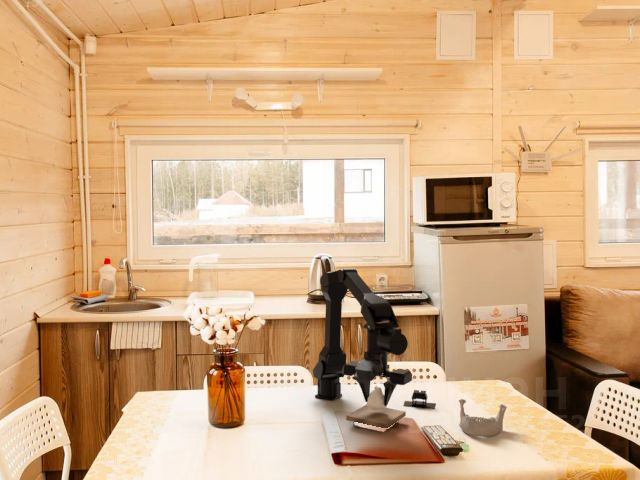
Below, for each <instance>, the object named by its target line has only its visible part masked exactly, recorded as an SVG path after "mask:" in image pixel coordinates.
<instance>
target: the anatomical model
mask: <svg viewBox="0 0 640 480" xmlns="http://www.w3.org/2000/svg"><path fill="white" fill-rule="evenodd" d="M458 402H459V405H460V411H459V417H460V418H459V419H460V420H459V425H458V426H459V427H460V429H461V430H462V432H464V433H465V434H467V435H468V436H474V437H482V438H490V437H494V436H497V435H498V434H500V433H504V432H503V431H504V426H503V424H504V423H503V422H504V417H505V412H506V411H507V408H508V407H507V406H506V405H505V404H503V403H501V404H500V405H499V411H498V413H497V415H496V416H495V417H493V416H491V417H489V418H487V417H481V416H480V417H479V416H470V415H469V414H466V412H465V407H464V405H465V404H466V403H467V400H466V399H465V398H464V399H463V398H460V399H458Z"/></svg>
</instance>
